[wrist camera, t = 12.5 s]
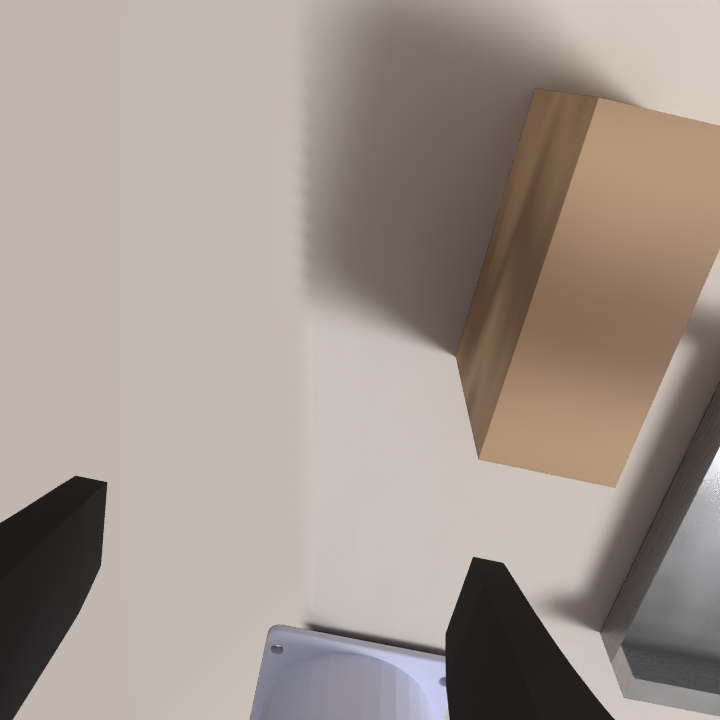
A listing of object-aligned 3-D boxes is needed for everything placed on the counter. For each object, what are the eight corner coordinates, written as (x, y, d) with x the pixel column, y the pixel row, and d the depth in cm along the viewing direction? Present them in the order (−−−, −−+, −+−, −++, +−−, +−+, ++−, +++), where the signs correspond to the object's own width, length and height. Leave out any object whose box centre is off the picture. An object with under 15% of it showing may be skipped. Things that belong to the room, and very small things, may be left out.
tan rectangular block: (556, 377, 23) (615, 487, 17) (455, 355, 23) (478, 459, 17) (652, 116, 19) (768, 137, 13) (534, 88, 19) (599, 97, 13)
